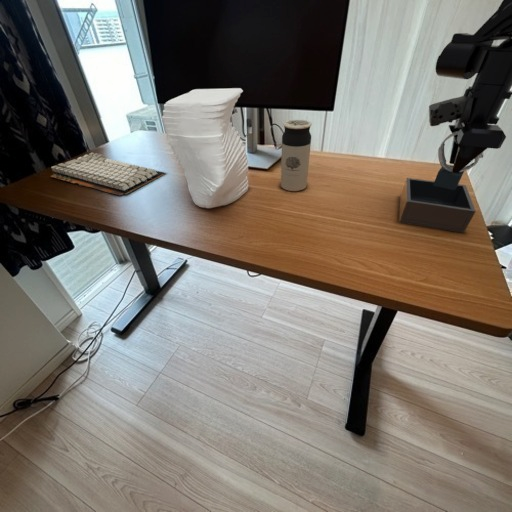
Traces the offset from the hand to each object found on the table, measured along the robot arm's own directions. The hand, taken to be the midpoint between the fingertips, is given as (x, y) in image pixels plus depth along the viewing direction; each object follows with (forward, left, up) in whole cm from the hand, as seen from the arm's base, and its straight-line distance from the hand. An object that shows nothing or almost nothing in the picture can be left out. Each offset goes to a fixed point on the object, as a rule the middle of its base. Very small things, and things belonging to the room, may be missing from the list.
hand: (453, 167), depth 58 cm
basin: (0, -3, -13) cm, 14 cm away
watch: (0, 0, -4) cm, 4 cm away
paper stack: (+58, +7, -13) cm, 60 cm away
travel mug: (+37, -7, -13) cm, 40 cm away
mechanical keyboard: (+101, +6, -13) cm, 102 cm away
